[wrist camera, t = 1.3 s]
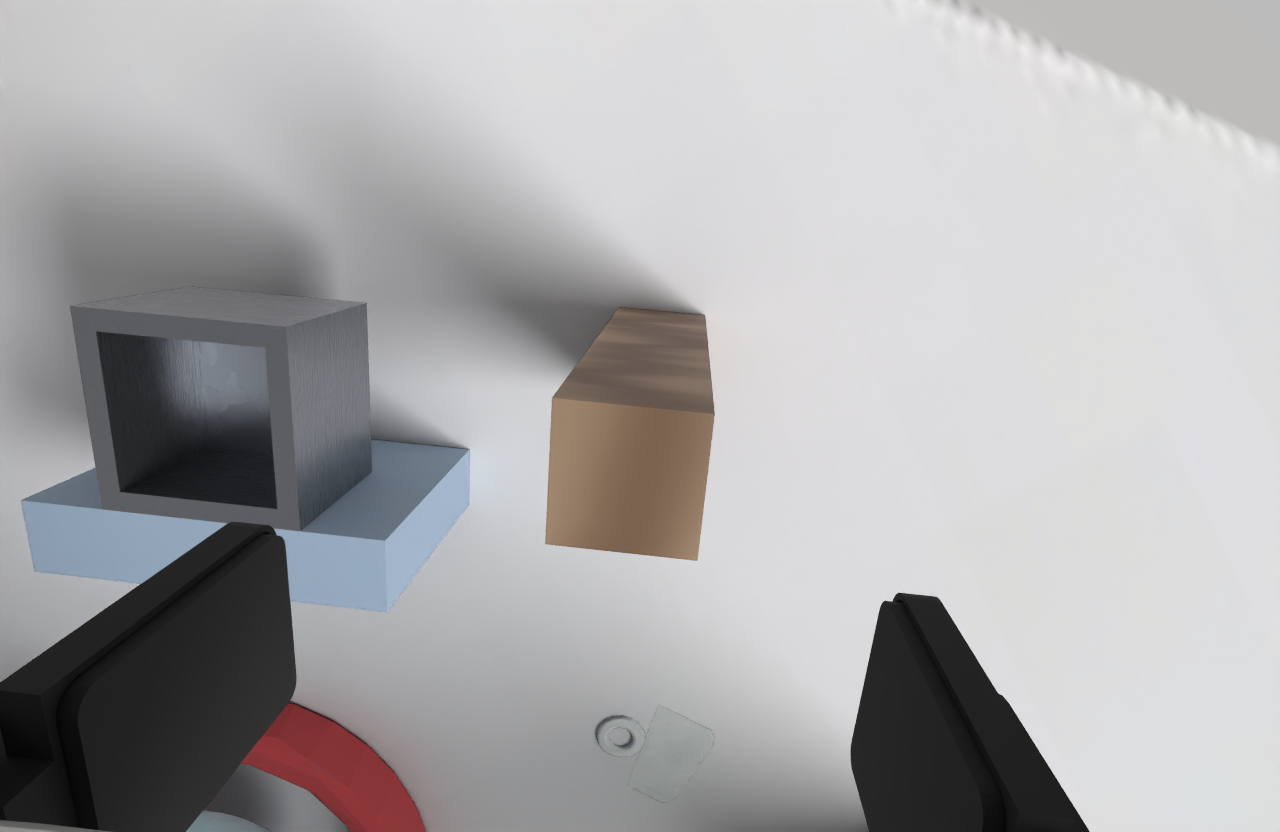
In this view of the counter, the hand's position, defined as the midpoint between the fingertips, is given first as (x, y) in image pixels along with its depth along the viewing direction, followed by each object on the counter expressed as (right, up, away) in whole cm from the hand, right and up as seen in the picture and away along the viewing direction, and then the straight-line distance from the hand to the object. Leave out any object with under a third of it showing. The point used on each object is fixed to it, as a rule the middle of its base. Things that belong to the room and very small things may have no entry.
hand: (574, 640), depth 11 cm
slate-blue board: (-15, +1, +25) cm, 29 cm away
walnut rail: (+2, +6, +22) cm, 23 cm away
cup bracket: (-15, +5, +20) cm, 25 cm away
